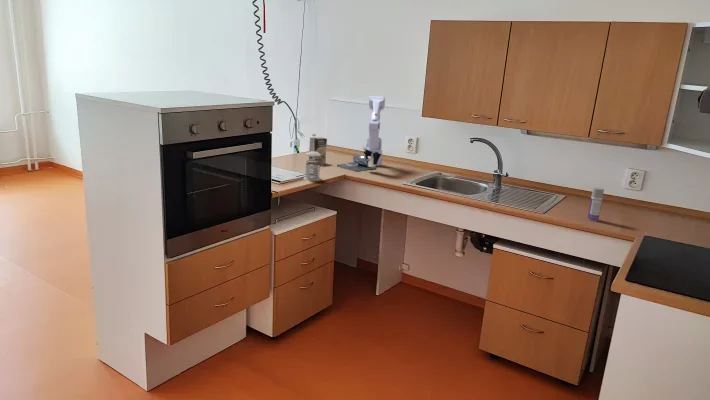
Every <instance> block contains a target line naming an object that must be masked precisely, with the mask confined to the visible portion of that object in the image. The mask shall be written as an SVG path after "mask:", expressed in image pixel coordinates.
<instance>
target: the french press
mask: <svg viewBox="0 0 710 400" xmlns="http://www.w3.org/2000/svg"><path fill="white" fill-rule="evenodd" d="M311 135H312V137H316V136H317V134H316V133H313V134H311ZM320 155H321V154H319V153H318V152H314V145H313V151H311V152H306V153H305V156H308V157H309V156H318V157H320ZM320 158H322V157H320ZM320 158H318V159H320ZM322 159H323V158H322ZM322 159H321V160H322ZM317 163H319V161H315V160H309V159H307V160H306V163H305V176H304V177H303V180H306V181H313V182H315V181H316V182H317V181H321V177H320V170H321V169H323V166H324V160H323V164H317Z"/></svg>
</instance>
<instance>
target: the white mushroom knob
mask: <svg viewBox="0 0 710 400" xmlns="http://www.w3.org/2000/svg"><path fill="white" fill-rule="evenodd" d="M366 161H368V167H376V166H375V165H374V163H373V162H374V158H373V156H368V159H367V160H366Z"/></svg>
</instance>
